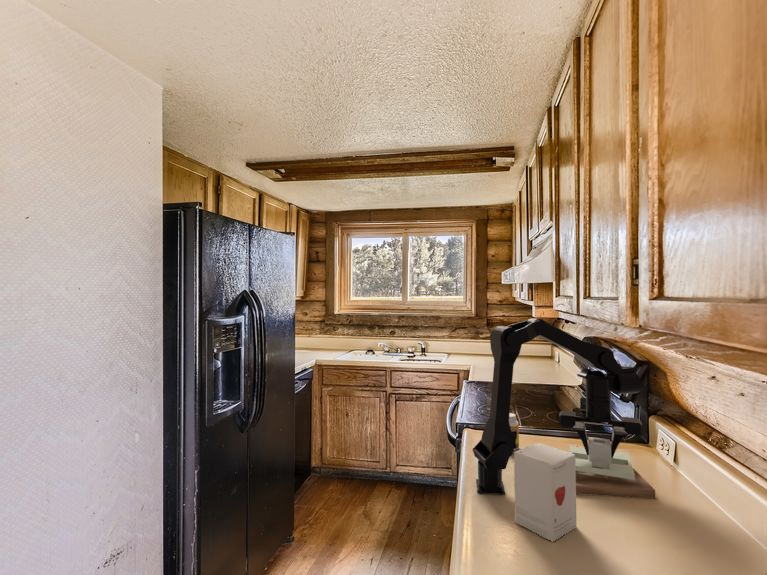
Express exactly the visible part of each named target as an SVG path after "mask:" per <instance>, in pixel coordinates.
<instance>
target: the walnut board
mask: <svg viewBox="0 0 767 575" xmlns="http://www.w3.org/2000/svg"><path fill="white" fill-rule="evenodd" d="M575 458H576V457H575ZM578 459H583V458H578ZM585 460H588V459H585ZM613 464H618V463H613ZM620 465H625V464H620ZM627 466H628V465H627ZM592 467H593V466H592ZM593 468H600V467H593ZM600 469H607V468H600ZM607 470H609V469H607ZM633 470H634V474H635V480H633V479H626V478H620V477H613V476H607V475H600V474H594V473H587V472H581V471H576V495H588V496H589V495H591V496H602V497H603V496H604V497H605V496H606V497H621V498H634V499H635V498H636V499H648V500H649V499H652V500H656V490H655V488H653V486H652V485H651V484H650V483H649V482H648V481H647V480H646V479H645V478H644V477H643V476H642V475H641V474H640V473H639V472H638V471H637V470H636V469H635V468H634V467H633Z"/></svg>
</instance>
